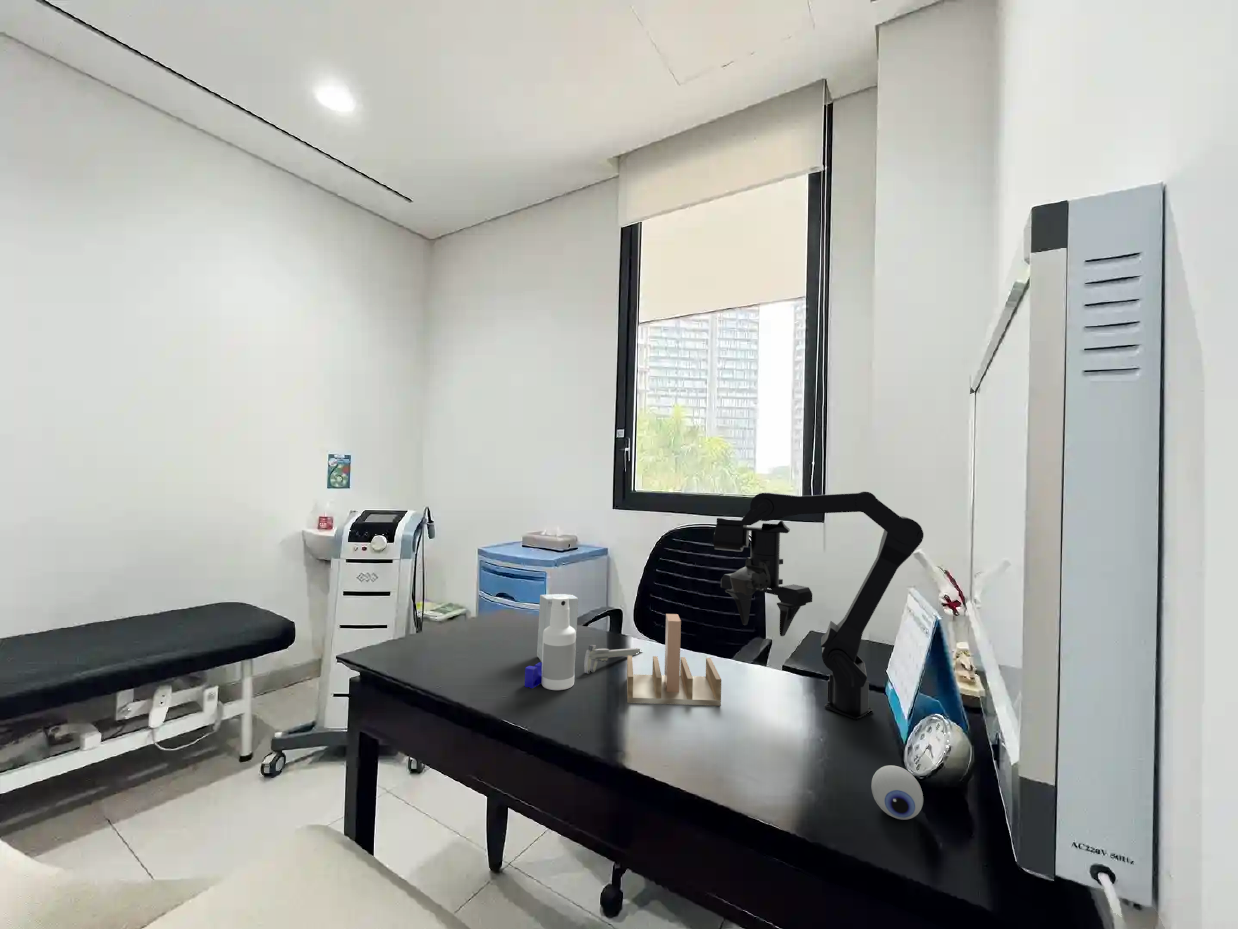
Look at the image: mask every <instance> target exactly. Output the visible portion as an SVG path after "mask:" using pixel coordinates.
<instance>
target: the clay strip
mask: <svg viewBox="0 0 1238 929" xmlns="http://www.w3.org/2000/svg"><path fill="white" fill-rule="evenodd" d="M681 625H682V620H681V618H680V616H679V614H677V613H665V638H664V639H665V641H664V642H665V643H664V644H665V645H664V646H665V647H664V675H665V677H664V682H665V686H666V691H667V692H679V678H680V662H681V636H682V635H681V634H682V633H681V632H682V631H681V630H682V629H681V628H682V627H681Z"/></svg>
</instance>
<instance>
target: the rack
mask: <svg viewBox="0 0 1238 929" xmlns="http://www.w3.org/2000/svg"><path fill="white" fill-rule="evenodd" d="M626 658H627V659H626V660H627V663H626V690H627V692H626V697H627V698H626V700H627V704H652V705H654V704H655V705H683V706H684V705H685V706H686V705H687V706H688V705H690V706H713V707H714V706H720V707H721V706H722V703H721V702H722V678H721V676H720V674H719V672H718V670H717V668H716V665H715V664H714V662H713V660H712V658H711V657H706V658H705V676H702V675H697V676H696V675H695V676H694V675H692V673H691V672H692V671H691V670H690V667H689V664H688V662H687V658H686V657H685V656H680V678H679V692H667V691H666V686H665V682H664V677H665V674H662V673H661V666H660V663H659V662H660V661H659V657H658V656H656V655H655V656H654V655H653V656H652V673H651V674H637V673H636V674H634V667H633V666H634V664H633V655H632V656H628V655H627V656H626Z"/></svg>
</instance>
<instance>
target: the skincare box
mask: <svg viewBox="0 0 1238 929" xmlns="http://www.w3.org/2000/svg"><path fill="white" fill-rule="evenodd" d="M562 596H567V597H569V618H570V621H569V626H571V627H572V628H574V629H575V631H576V635H577V633H578V632H577V630H578V629H577V628H578V615H579V614H578V611H579V598H578V597H577V596H575V595H574V594H572V593H551V594H550V593H549V594H548V593H547V594H540V595H539V609H538V610H539V611H538V628H537V629H538V630H537V631H538V632H537V650H536V656H537V658H538V659H539V661H540V662H542V648H543V631H544V629H545V628H547V627H549V626H550V618H551V607H552V598H553V597H556V598H558V597H562ZM576 649H577V641H576V642H575V655H576V653H577V650H576Z"/></svg>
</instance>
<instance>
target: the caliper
mask: <svg viewBox="0 0 1238 929" xmlns="http://www.w3.org/2000/svg"><path fill="white" fill-rule="evenodd" d="M640 650H641V648H638V647H636V648H635V647H634V648H633V647H632V648H619V649H610V648H597V645H596V644H588V649H586V651H585V655H584V662H583V663H584V664H583V665H584V666H583V668H584V669H583V670H584V674H588V675H589V674H590V673H595V671H596V669H597V665H598V663H599V661H600V662H608V660H609V658H618V657H619V658H620V657H627V655H628V656H632V657H633V656H636V655H635V654H636V653H638V652H640ZM590 671H591V672H590Z"/></svg>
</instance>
